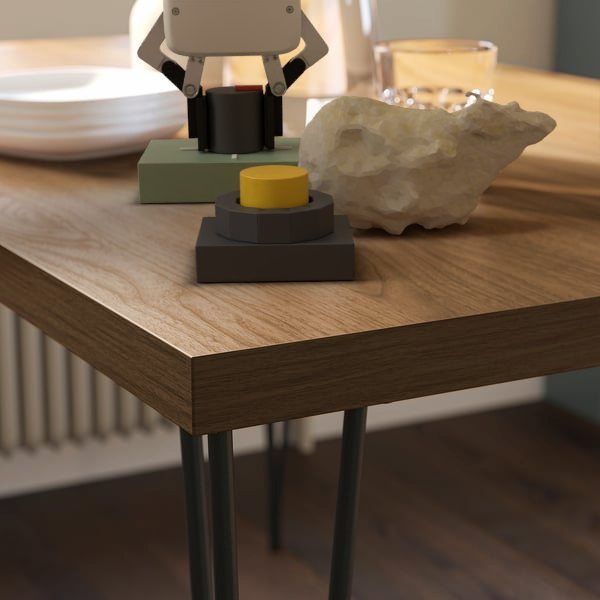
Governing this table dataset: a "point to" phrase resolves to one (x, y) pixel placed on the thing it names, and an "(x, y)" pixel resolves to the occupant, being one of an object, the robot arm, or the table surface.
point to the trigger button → (274, 186)
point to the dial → (235, 119)
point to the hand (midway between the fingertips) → (235, 144)
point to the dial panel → (201, 169)
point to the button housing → (275, 242)
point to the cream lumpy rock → (413, 158)
